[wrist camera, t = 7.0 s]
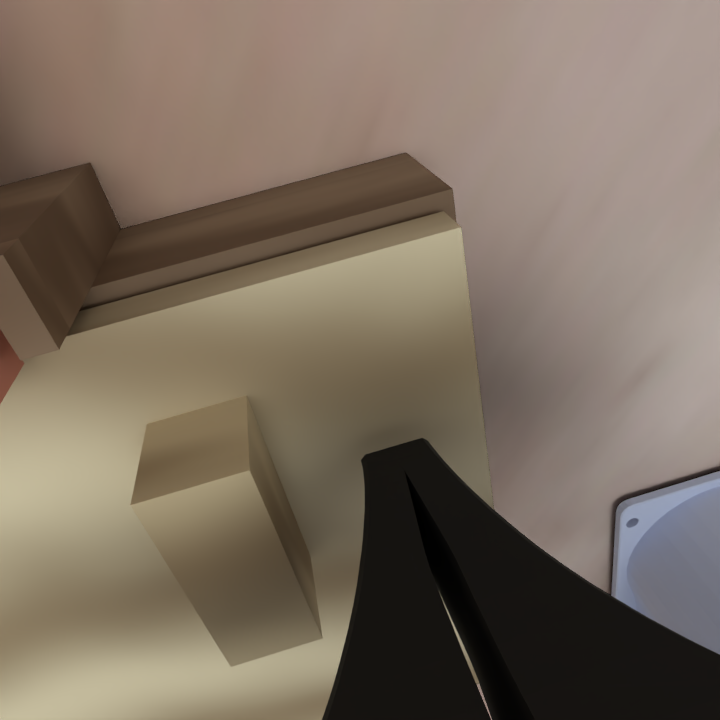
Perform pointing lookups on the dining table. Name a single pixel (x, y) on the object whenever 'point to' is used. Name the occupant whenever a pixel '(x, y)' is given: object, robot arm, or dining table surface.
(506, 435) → the dining table surface
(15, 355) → the pink bar
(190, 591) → the lid
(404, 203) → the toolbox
